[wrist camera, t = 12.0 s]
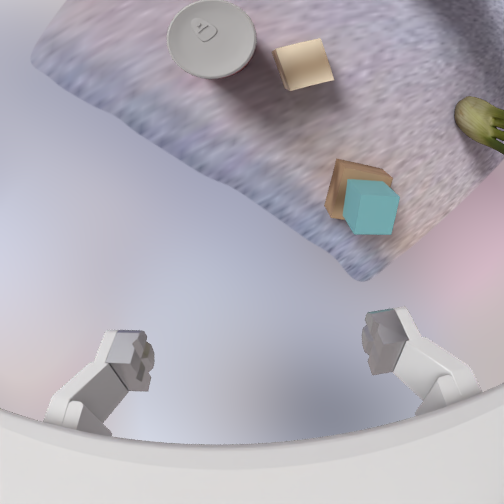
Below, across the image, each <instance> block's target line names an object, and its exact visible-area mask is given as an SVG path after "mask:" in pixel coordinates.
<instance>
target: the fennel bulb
mask: <svg viewBox="0 0 504 504" xmlns="http://www.w3.org/2000/svg"><path fill="white" fill-rule="evenodd" d="M454 116H455V121H456V124H457V125H458V127H459V128H460V129H461V130H462V131H463V132H464V133H465V134H466V135H467V136H469V137H470V138H472V139H473V140H475V141H476V142H478V143H481V144H484V145H486V146H488V147H491V148H493V149H495V150H497V151H499V152H500V153H502V154H504V144H503V143H501V142H499V141H498V140H496V138H497V139H500V140H502V141H504V131H501V130H498V129H497V127H499V128H502V129H504V110H502V109H499V108H496V107H495V106H493V105H491V104H490V103H488V102H486V101H484V100H482V99H479V98H476V97H471V96H468V97H465V98H464V99H463V100H460V101H459V102H458V103H457V105H456V107H455V114H454Z"/></svg>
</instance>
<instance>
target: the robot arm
mask: <svg viewBox="0 0 504 504" xmlns="http://www.w3.org/2000/svg"><path fill="white" fill-rule="evenodd" d="M365 321H366V324H367V325H366V326H365V327H364V328H363V331H362V344H363V348H364V351H365V353H367V354H368V355H369V359H368V364H369V367H370V369H371V373H372V375H377V374H383V373H389V372H393V373H394V374H395V375H396V376H397V377H398V378H399V379H400V380H401V381H402V382H403V383H405V384H406V385H407V386H408V387H409V388H410V389H411V390H412V391H413V392H414V393H415V394H416V395H417V396H419V397H420V398H421V399H422V400H423V402H422V404H421V405H420V406H419V408H418V409H417V411H416V412H415V415H416V416H415V417H412V418H408V419H405V420H401V421H397V422H394V423H390V424H386V425H382V426H377V427H373V428H368V429H364V430H359V431H354V432H349V433H343V434H338V435H332V436H326V437H318V438H311V439H304V440H294V441H285V442H273V443H258V444H235V445H234V444H232V445H204V444H177V443H162V442H150V441H142V440H133V439H124V438H118V437H112V433H111V431H110V430H109V429H108V428H106V426H104V424H103V422H104V421H105V420H106V419H107V418H108V416H109V415H110V414H111V413H112V411H113V410H114V409H115V408H116V407H117V405H118V404H119V403H120V402H121V401H122V399H123V398H124V397H125V396H126V394H127V393H128V391H148V389H149V385H150V380H151V376H150V375H149V373H148V372H149V371H150V370H152V369H153V366H154V351H153V348H152V346H151V344H149V343H148V342H146V340H147V335H146V334H145V332H144V331H140V330H138V331H137V330H107V331H106V332H105V334H104V336H103V339H102V342H101V344H100V347H99V349H98V352H97V355H96V357H95V360H94V362H90V363H89V364H88V365H87V366H86V367H85V368H83V369H82V370H81V371H80V372H79V373H78V374H76V375H75V376H74V377H73V378H72V379H71V380H70V381H69V382H68V383H66V384H65V385H64V386H63V387H62V388H61V389H60V390H59V391H57V392H56V393H55V394H54V395H53V396H52V398H51V401H50V404H49V406H48V409H47V412H46V415H45V418H44V421H43V422H41V421H38V420H35V419H31V418H28V417H25V416H22V415H19V414H16V413H13V412H10V411H7V410H4V409H1V408H0V504H504V383H502V384H500V385H498V386H496V387H494V388H491V389H489V390H487V391H485V392H482V390H481V388H480V386H479V384H478V382H477V380H476V377H475V375H474V373H473V371H472V369H471V367H470V366H468V365H467V364H465V363H464V362H462V361H461V360H460V359H458V358H457V357H455V356H454V355H452V354H451V353H449V352H448V351H446V350H445V349H443V348H442V347H440V346H438V345H437V344H435V343H434V342H432V341H431V340H429V339H428V338H426V337H423V338H422V336H421V334H420V332H419V330H418V328H417V326H416V324H415V323H414V321H413V319H412V317H411V315H410V313H409V311H408V309H407V308H406V307H405V306H404V307H398V308H393V309H385V310H380V311H374V312H368V313H367V315H366V318H365Z"/></svg>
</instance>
